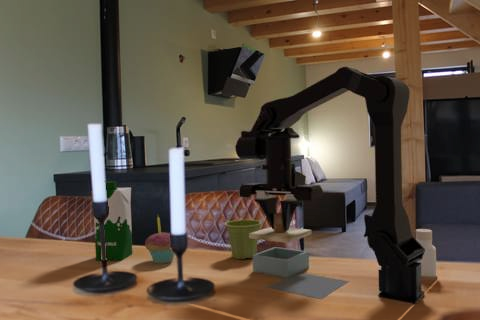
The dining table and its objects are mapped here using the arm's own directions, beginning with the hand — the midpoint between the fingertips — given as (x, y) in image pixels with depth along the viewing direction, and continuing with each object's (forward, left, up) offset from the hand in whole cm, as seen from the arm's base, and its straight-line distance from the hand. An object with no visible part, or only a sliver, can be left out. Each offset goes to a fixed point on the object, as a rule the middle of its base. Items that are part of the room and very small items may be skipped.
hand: (280, 229), depth 97 cm
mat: (-10, +6, -9) cm, 15 cm away
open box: (0, 0, -9) cm, 9 cm away
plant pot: (+15, -6, -10) cm, 19 cm away
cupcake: (+30, +8, -10) cm, 33 cm away
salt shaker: (-27, -13, -10) cm, 31 cm away
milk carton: (+44, +12, -10) cm, 47 cm away
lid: (0, 0, -1) cm, 1 cm away
